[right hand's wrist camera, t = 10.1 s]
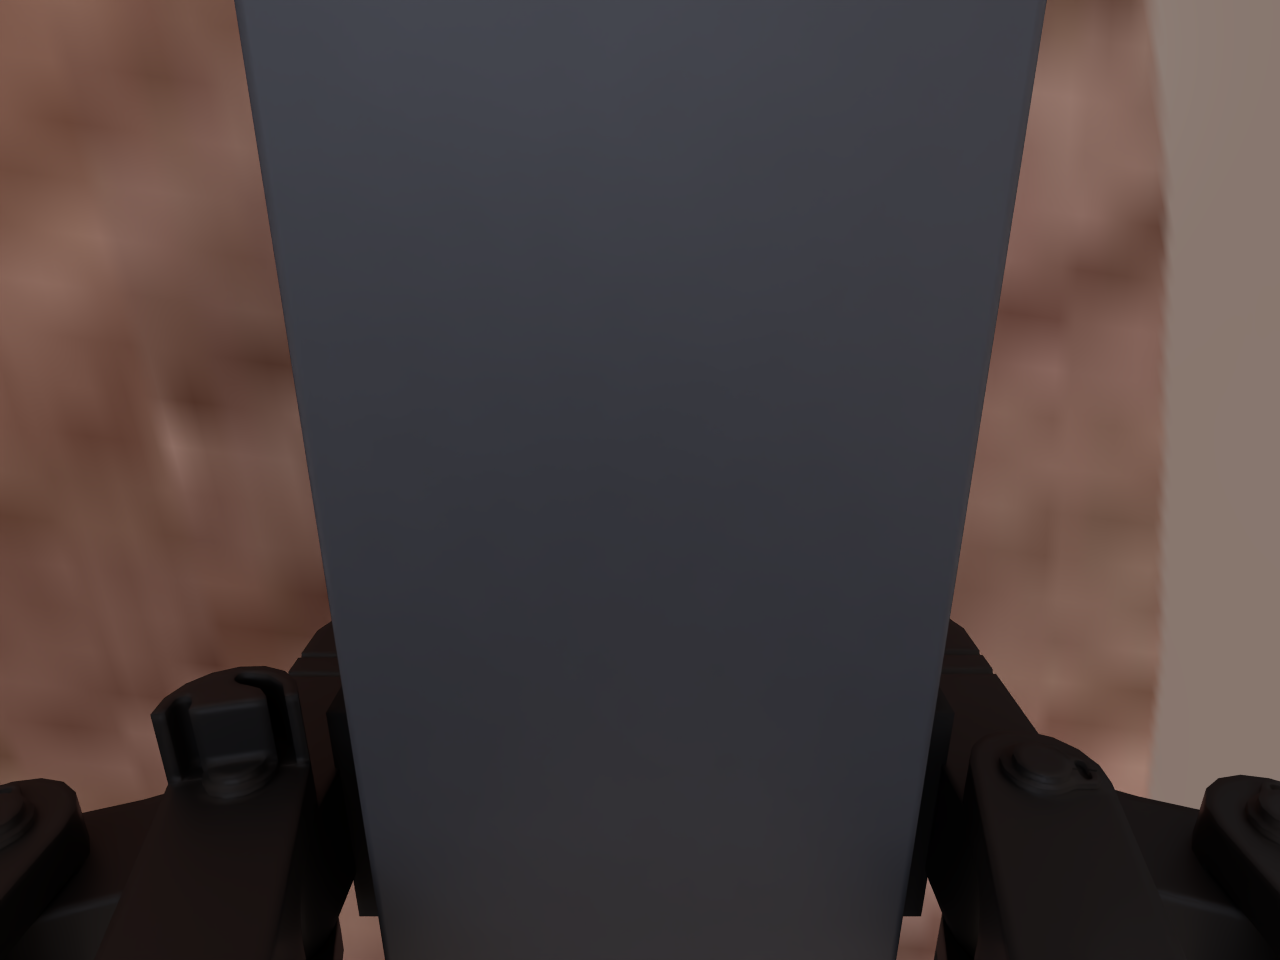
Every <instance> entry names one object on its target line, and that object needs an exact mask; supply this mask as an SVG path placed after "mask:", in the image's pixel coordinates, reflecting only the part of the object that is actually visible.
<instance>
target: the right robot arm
mask: <svg viewBox="0 0 1280 960" xmlns="http://www.w3.org/2000/svg"><path fill="white" fill-rule="evenodd" d="M288 673H289V674H288ZM288 673H286V672H285V671H283V670H279V669H275V668H270V667H266V666H252V667H237V668H232V669H228V670H223V671H219V672H214V673H211V674H208V675H206V676H204V677H201V678H199V679H196V680H194V681H191V682H189V683H186V684H185V685H183V686H182V687H180V688H179V689H177V690H176V691H174V692H173V693H171V694H170V695H168V696H167V697H165V698H164V699H163V700H162V701H161V703H160V704H159V705H158V706H157V707H156V709H155V710H154V711H153V712H152V713H151V719H152V723H153V727H154V731H155V734H156V738H157V742H158V746H159V750H160V754H161V758H162V762H163V765H164V769H165V773H166V777H167V781H168V786H167V788H166V791H165V793H164V794H162V795H158V796H155V797H151V798H148V799H144V800H140V801H135V802H131V803H126V804H122V805H117V806H112V807H108V808H103V809H99V810H94V811H90V812H85V813H82V811H81V808H80V805H79V802H78V799H77V795H76V792H75V791H74V790H72V789H71V788H70V787H69V786H68V785H67V784H65V783H64V782H61V781H55V780H49V779H43V778H40V779H32V780H23V781H15V782H10V783H7V784H4V785H0V960H343V952H344V949H343V941H342V934H341V928H340V922H339V914H340V912H341V909H342V907H343V904H344V902H345V899H346V897H347V895H348V892H349V890H350V887H351V885H352V882H353V880H354V886H355V892H356V898H357V904H358V910H359V916H378V911H377V905H376V898H375V892H374V886H373V879H372V873H371V866H370V860H369V854H368V847H367V841H366V835H365V828H364V822H363V816H362V809H361V803H360V796H359V790H358V784H357V777H356V771H355V765H354V758H353V752H352V746H351V739H350V733H349V727H348V720H347V714H346V707H345V701H344V695H343V688H342V682H341V676H340V669H339V663H338V657H337V650H336V644H335V637H334V631H333V625H332V621H331V622H330V623H328V624H327V625H325V626H324V627H322V628H321V629H319V630H318V631H317V632H316V634H315V635H314V636H313V638H312V639H311V641H310V642H309V643H308V645H307V646H306V648H305V649H304V651H303V652H302V656H301V658H298V659H297V661H296V662H295V663H294V665H293V666H292V668H291V669H290V670H289V672H288ZM927 877H928V879H929V882H930V884H931V887H932V889H933V892H934V894H935V897H936V899H937V901H938V904H939V906H940V909H941V911H942V917H941V922H940V928H939V934H938V939H937V945H936V951H935V956H934V960H1280V781H1276V780H1273V779H1269V778H1262V777H1254V776H1246V775H1236V776H1230V777H1224V778H1218V779H1217V780H1216V781H1215V782H1213V783H1212V784H1211V785H1210V786H1209V787H1208V788H1206V791H1205V794H1204V798H1203V801H1202V804H1201V807H1200V810H1198V809H1193V808H1189V807H1184V806H1179V805H1175V804H1170V803H1166V802H1161V801H1156V800H1152V799H1147V798H1143V797H1138V796H1134V795H1131V794H1127V793H1124V792H1120V791H1117V790H1115V789H1114V787H1113V785H1112V783H1111V781H1110V780H1109V778H1108V777H1107V776H1106V774H1105V773H1104V771H1103V770H1102V769H1101V767H1100V766H1099V765H1098V764H1097V763H1096V762H1094V761H1093V760H1092V759H1090V758H1089V757H1088V756H1086V755H1085V754H1084V753H1082V752H1081V751H1080V750H1079V749H1076V748H1074V747H1072V746H1070V745H1068V744H1066V743H1064V742H1061V741H1059V740H1057V739H1055V738H1053V737H1049V736H1045V735H1041V734H1038V733H1037V731H1036V730H1035V728H1034V727H1033V725H1032V724H1031V723H1030V721H1029V720H1028V718H1027V717H1026V716H1025V714H1024V713H1023V711H1022V710H1021V709H1020V707H1019V706H1018V704H1017V703H1016V701H1015V700H1014V699H1013V697H1012V696H1011V694H1010V693H1009V692H1008V690H1007V689H1006V687H1005V686H1004V685H1003V683H1002V682H1001V680H1000V679H999V678H998V676H997V675H996V674H993V669H992V668H991V666H990V665H989V663H988V662H987V661H986V659H985V658H984V656H983V655H980V654H979V649H978V648H977V647H976V645H975V644H974V642H973V641H972V639H971V638H970V637H969V635H968V634H967V632H966V631H965V630H964V628H962V627H961V626H959V625H958V624H957V623H955V622H954V621H952V620H951V619H949V625H948V632H947V638H946V645H945V651H944V657H943V664H942V670H941V676H940V683H939V689H938V696H937V702H936V708H935V715H934V721H933V727H932V734H931V740H930V747H929V753H928V759H927V766H926V772H925V778H924V785H923V791H922V797H921V804H920V810H919V817H918V823H917V829H916V836H915V842H914V848H913V855H912V861H911V868H910V874H909V880H908V887H907V893H906V899H905V906H904V912H903V916H921V913H922V907H923V901H924V895H925V889H926V883H927Z"/></svg>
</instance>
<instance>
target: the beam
mask: <svg viewBox="0 0 1280 960" xmlns="http://www.w3.org/2000/svg"><path fill="white" fill-rule="evenodd" d="M1046 1H1047V0H234V2H235V8H236V14H237V21H238V27H239V33H240V40H241V46H242V52H243V59H244V65H245V71H246V78H247V84H248V91H249V97H250V103H251V110H252V116H253V122H254V129H255V135H256V141H257V148H258V154H259V161H260V167H261V173H262V180H263V186H264V192H265V199H266V205H267V211H268V218H269V224H270V230H271V237H272V243H273V250H274V256H275V262H276V269H277V275H278V281H279V288H280V294H281V300H282V307H283V313H284V320H285V326H286V332H287V339H288V345H289V351H290V358H291V364H292V370H293V377H294V383H295V389H296V396H297V402H298V409H299V415H300V421H301V428H302V434H303V440H304V447H305V453H306V459H307V466H308V472H309V478H310V485H311V491H312V498H313V504H314V510H315V517H316V523H317V529H318V536H319V542H320V548H321V555H322V561H323V568H324V574H325V580H326V587H327V593H328V599H329V606H330V612H331V618H332V625H333V631H334V637H335V644H336V650H337V657H338V663H339V669H340V676H341V682H342V688H343V695H344V701H345V707H346V714H347V720H348V727H349V733H350V739H351V746H352V752H353V758H354V765H355V771H356V777H357V784H358V790H359V796H360V803H361V809H362V816H363V822H364V828H365V835H366V841H367V847H368V854H369V860H370V866H371V873H372V879H373V886H374V892H375V898H376V905H377V911H378V917H379V924H380V930H381V936H382V943H383V949H384V955H385V960H896V957H897V950H898V944H899V938H900V931H901V925H902V919H903V912H904V906H905V899H906V893H907V887H908V880H909V874H910V868H911V861H912V855H913V848H914V842H915V836H916V829H917V823H918V817H919V810H920V804H921V797H922V791H923V785H924V778H925V772H926V766H927V759H928V753H929V747H930V740H931V734H932V727H933V721H934V715H935V708H936V702H937V696H938V689H939V683H940V676H941V670H942V664H943V657H944V651H945V645H946V638H947V632H948V625H949V619H950V613H951V606H952V600H953V594H954V587H955V581H956V574H957V568H958V562H959V555H960V549H961V543H962V536H963V530H964V524H965V517H966V511H967V504H968V498H969V492H970V485H971V479H972V473H973V466H974V460H975V453H976V447H977V441H978V434H979V428H980V422H981V415H982V409H983V402H984V396H985V390H986V383H987V377H988V371H989V364H990V358H991V352H992V345H993V339H994V332H995V326H996V320H997V313H998V307H999V301H1000V294H1001V288H1002V281H1003V275H1004V269H1005V262H1006V256H1007V250H1008V243H1009V237H1010V230H1011V224H1012V218H1013V211H1014V205H1015V199H1016V192H1017V186H1018V179H1019V173H1020V167H1021V160H1022V154H1023V148H1024V141H1025V135H1026V129H1027V122H1028V116H1029V109H1030V103H1031V97H1032V90H1033V84H1034V78H1035V71H1036V65H1037V58H1038V52H1039V46H1040V39H1041V33H1042V27H1043V20H1044V14H1045V7H1046Z"/></svg>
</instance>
